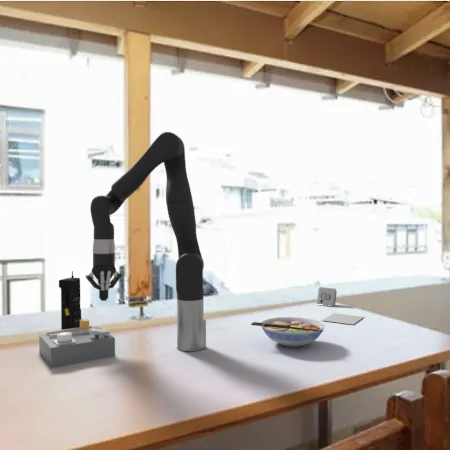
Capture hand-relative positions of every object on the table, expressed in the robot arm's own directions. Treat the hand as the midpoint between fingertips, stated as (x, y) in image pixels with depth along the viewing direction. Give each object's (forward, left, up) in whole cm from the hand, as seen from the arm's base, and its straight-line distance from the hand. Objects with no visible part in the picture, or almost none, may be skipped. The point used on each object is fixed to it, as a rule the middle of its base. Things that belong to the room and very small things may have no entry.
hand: (103, 300), depth 155 cm
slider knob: (+7, 0, -10) cm, 12 cm away
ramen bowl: (-56, +37, -16) cm, 69 cm away
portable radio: (+8, -15, -16) cm, 23 cm away
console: (+11, +5, -16) cm, 20 cm away
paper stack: (-99, +27, -17) cm, 104 cm away
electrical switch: (-118, -5, -16) cm, 119 cm away
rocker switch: (+5, +10, -9) cm, 14 cm away
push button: (+16, +10, -10) cm, 21 cm away
